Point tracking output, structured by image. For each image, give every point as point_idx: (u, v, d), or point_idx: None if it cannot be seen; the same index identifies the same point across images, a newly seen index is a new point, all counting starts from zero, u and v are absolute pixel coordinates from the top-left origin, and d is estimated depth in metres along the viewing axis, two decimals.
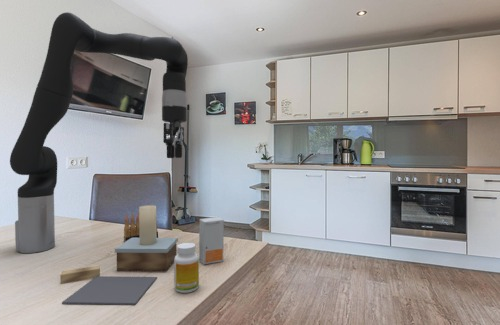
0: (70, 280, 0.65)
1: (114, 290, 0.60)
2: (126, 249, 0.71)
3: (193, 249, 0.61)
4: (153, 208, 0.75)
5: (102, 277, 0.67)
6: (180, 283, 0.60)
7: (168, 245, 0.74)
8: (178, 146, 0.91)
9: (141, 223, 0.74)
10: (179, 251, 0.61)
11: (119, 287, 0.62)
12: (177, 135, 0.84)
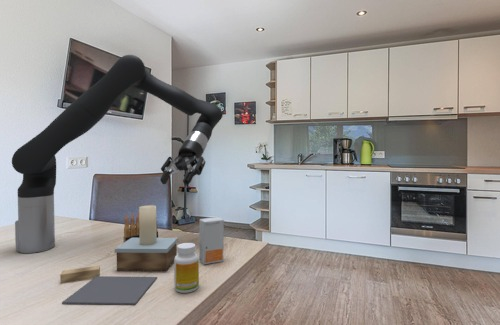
0: (70, 280, 0.66)
1: (114, 290, 0.60)
2: (126, 249, 0.71)
3: (193, 249, 0.61)
4: (153, 208, 0.75)
5: (102, 277, 0.67)
6: (180, 283, 0.60)
7: (168, 245, 0.74)
8: (168, 173, 0.90)
9: (141, 223, 0.74)
10: (179, 251, 0.61)
11: (119, 287, 0.62)
12: None
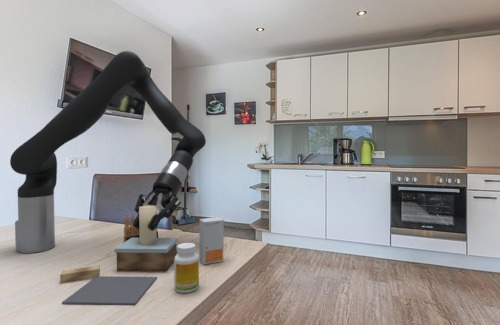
0: (70, 280, 0.66)
1: (114, 290, 0.60)
2: (126, 249, 0.71)
3: (193, 249, 0.61)
4: (153, 208, 0.75)
5: (102, 277, 0.67)
6: (180, 283, 0.60)
7: (168, 245, 0.74)
8: None
9: (141, 223, 0.74)
10: (179, 251, 0.61)
11: (119, 287, 0.62)
12: None
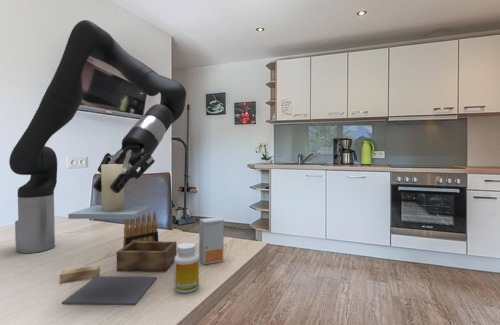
0: (69, 280, 0.66)
1: (114, 290, 0.60)
2: (83, 215, 0.57)
3: (193, 249, 0.61)
4: (118, 165, 0.60)
5: (102, 277, 0.67)
6: (180, 283, 0.60)
7: (137, 211, 0.59)
8: None
9: (103, 184, 0.59)
10: (179, 251, 0.61)
11: (119, 287, 0.62)
12: None
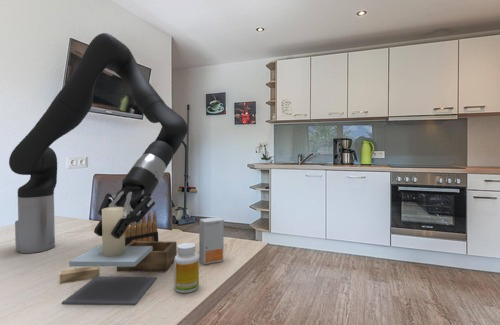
0: (69, 280, 0.66)
1: (114, 290, 0.60)
2: (84, 262, 0.57)
3: (193, 249, 0.61)
4: (119, 210, 0.60)
5: (102, 277, 0.67)
6: (180, 283, 0.60)
7: (137, 256, 0.59)
8: None
9: (104, 229, 0.59)
10: (179, 251, 0.61)
11: (119, 287, 0.62)
12: None
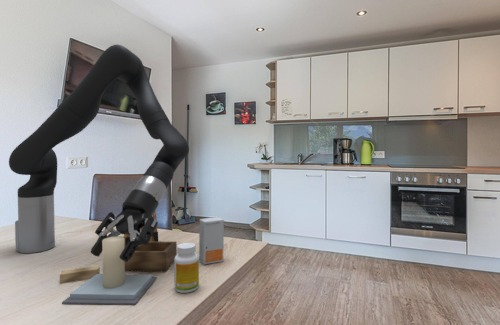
0: (69, 280, 0.66)
1: None
2: (84, 295, 0.57)
3: (193, 249, 0.61)
4: (119, 241, 0.60)
5: None
6: (180, 283, 0.60)
7: (137, 288, 0.59)
8: None
9: (104, 260, 0.60)
10: (179, 251, 0.61)
11: None
12: None
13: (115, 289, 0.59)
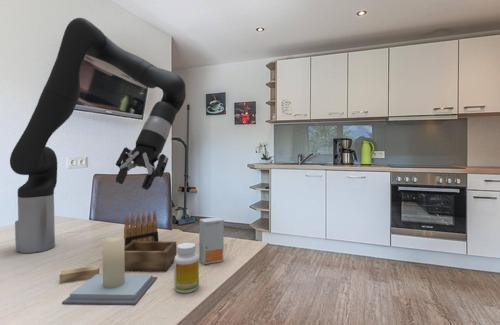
0: (69, 280, 0.65)
1: None
2: (84, 295, 0.57)
3: (193, 249, 0.61)
4: (119, 241, 0.60)
5: None
6: (180, 283, 0.60)
7: (137, 288, 0.59)
8: (125, 171, 0.78)
9: (104, 260, 0.60)
10: (179, 251, 0.61)
11: None
12: (153, 167, 0.79)
13: (115, 289, 0.59)
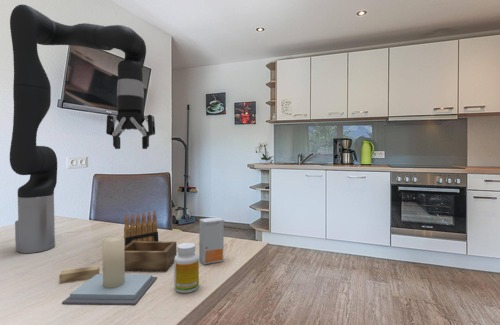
0: (69, 280, 0.65)
1: None
2: (84, 295, 0.57)
3: (193, 249, 0.61)
4: (119, 241, 0.60)
5: None
6: (180, 283, 0.60)
7: (137, 288, 0.59)
8: (118, 136, 0.85)
9: (104, 260, 0.60)
10: (179, 251, 0.61)
11: None
12: (142, 127, 0.87)
13: (115, 289, 0.59)
